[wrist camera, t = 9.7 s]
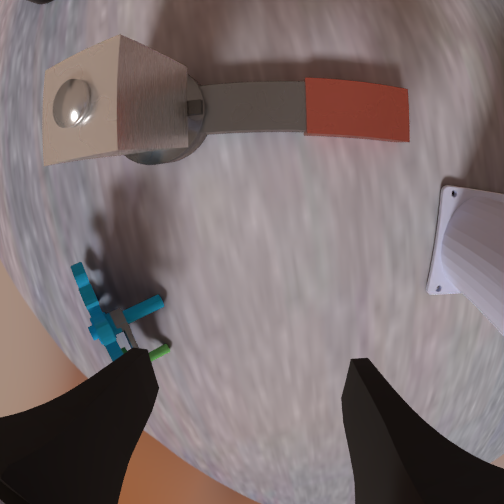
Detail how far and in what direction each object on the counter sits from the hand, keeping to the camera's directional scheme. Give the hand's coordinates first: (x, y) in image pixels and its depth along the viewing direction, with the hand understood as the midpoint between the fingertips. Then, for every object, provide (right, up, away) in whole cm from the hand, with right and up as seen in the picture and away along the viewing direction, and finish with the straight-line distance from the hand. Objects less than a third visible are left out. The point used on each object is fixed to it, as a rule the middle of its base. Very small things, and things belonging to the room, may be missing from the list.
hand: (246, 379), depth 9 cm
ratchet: (0, +13, +6) cm, 14 cm away
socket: (-5, +12, +5) cm, 14 cm away
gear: (-10, 0, +12) cm, 16 cm away
